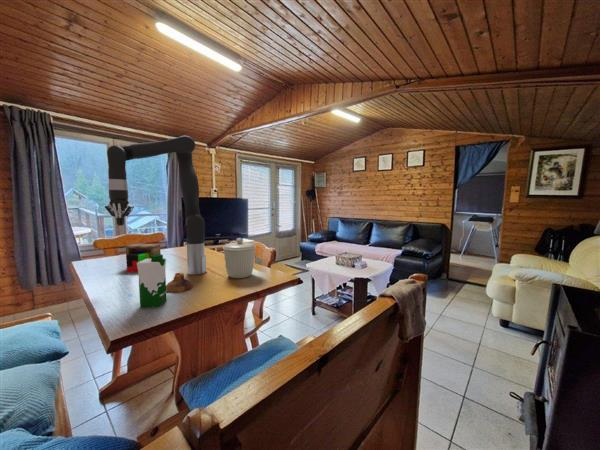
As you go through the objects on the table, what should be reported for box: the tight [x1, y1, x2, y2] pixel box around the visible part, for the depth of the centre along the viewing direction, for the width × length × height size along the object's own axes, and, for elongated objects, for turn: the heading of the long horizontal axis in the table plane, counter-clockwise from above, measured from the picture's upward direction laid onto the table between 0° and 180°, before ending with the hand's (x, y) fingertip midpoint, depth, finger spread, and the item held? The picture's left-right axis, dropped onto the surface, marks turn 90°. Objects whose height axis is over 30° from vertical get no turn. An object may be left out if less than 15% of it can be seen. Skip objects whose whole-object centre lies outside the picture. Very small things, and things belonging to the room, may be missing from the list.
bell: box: [166, 272, 193, 294], centre depth 123 cm, size 12×12×7 cm
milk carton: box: [137, 254, 168, 309], centre depth 104 cm, size 9×9×20 cm
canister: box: [222, 237, 257, 279], centre depth 143 cm, size 18×18×21 cm
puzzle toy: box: [125, 251, 151, 273], centre depth 153 cm, size 10×10×10 cm
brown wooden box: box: [125, 243, 161, 263], centre depth 155 cm, size 16×8×14 cm, turn 90°
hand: (120, 225), depth 126 cm, fingers closed
